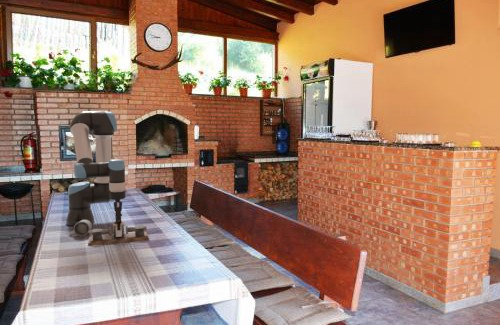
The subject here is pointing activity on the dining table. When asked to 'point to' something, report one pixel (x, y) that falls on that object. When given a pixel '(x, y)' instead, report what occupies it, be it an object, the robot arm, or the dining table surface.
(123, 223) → the knob
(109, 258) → the dining table surface
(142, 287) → the dining table surface
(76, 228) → the ceramic mug
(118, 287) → the dining table surface
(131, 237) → the shaft bench
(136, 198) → the dining table surface
